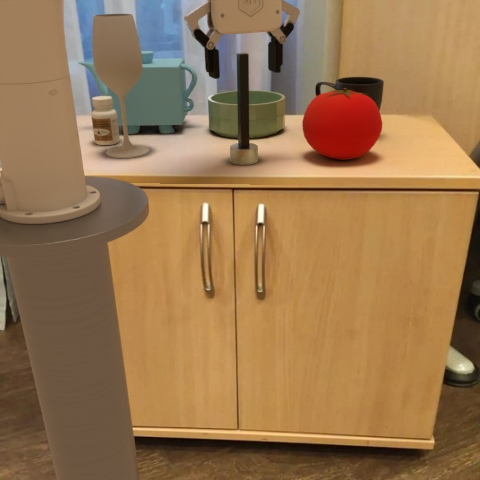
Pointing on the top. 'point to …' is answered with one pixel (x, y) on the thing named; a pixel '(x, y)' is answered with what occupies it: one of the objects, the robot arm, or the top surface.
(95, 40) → the wineglass
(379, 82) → the mug
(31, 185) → the robot arm
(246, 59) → the square post on disc
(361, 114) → the tomato
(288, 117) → the top surface
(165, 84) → the teapot
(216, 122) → the bowl
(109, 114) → the pill bottle
